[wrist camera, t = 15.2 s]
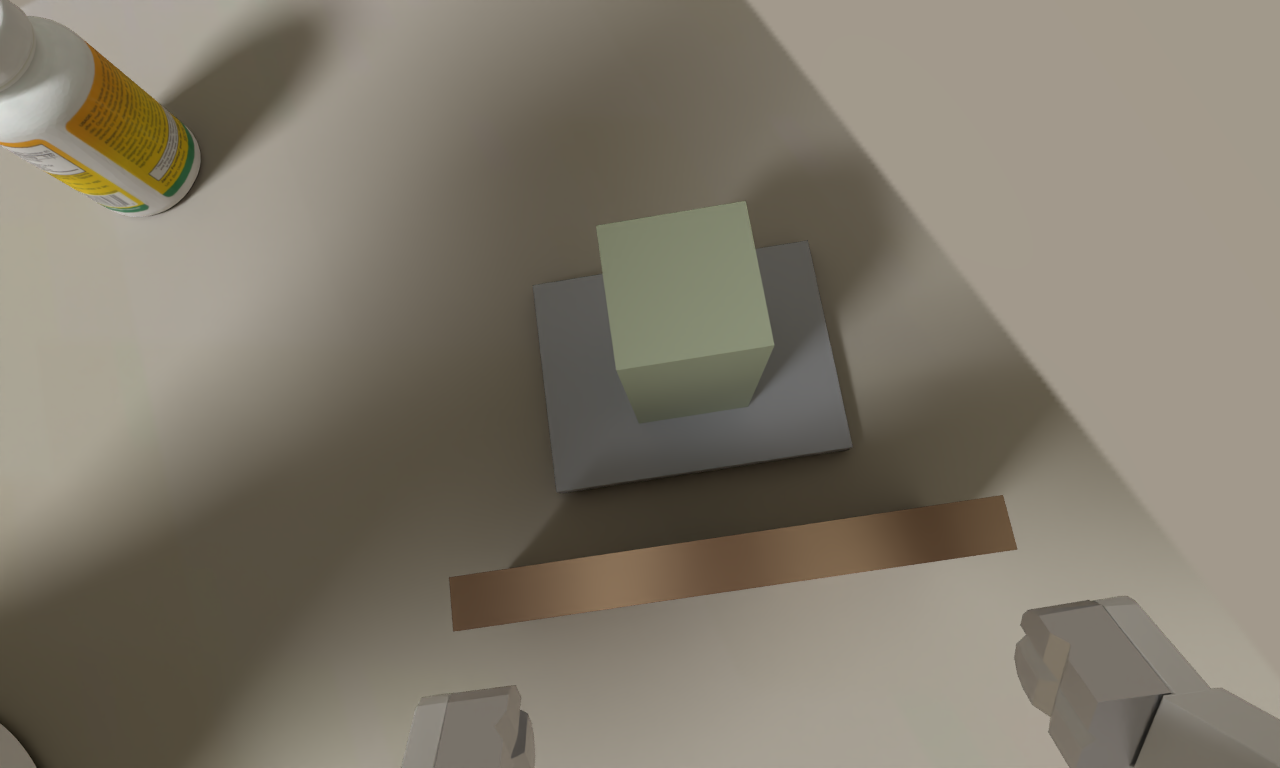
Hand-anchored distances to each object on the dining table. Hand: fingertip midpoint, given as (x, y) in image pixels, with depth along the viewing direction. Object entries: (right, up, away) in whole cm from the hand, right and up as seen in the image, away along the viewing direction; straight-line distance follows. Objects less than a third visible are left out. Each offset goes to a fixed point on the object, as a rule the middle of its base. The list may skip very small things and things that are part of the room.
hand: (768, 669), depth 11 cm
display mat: (0, +5, +18) cm, 19 cm away
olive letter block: (0, +6, +18) cm, 18 cm away
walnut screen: (+1, -2, +16) cm, 17 cm away
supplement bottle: (-26, +15, +23) cm, 37 cm away
